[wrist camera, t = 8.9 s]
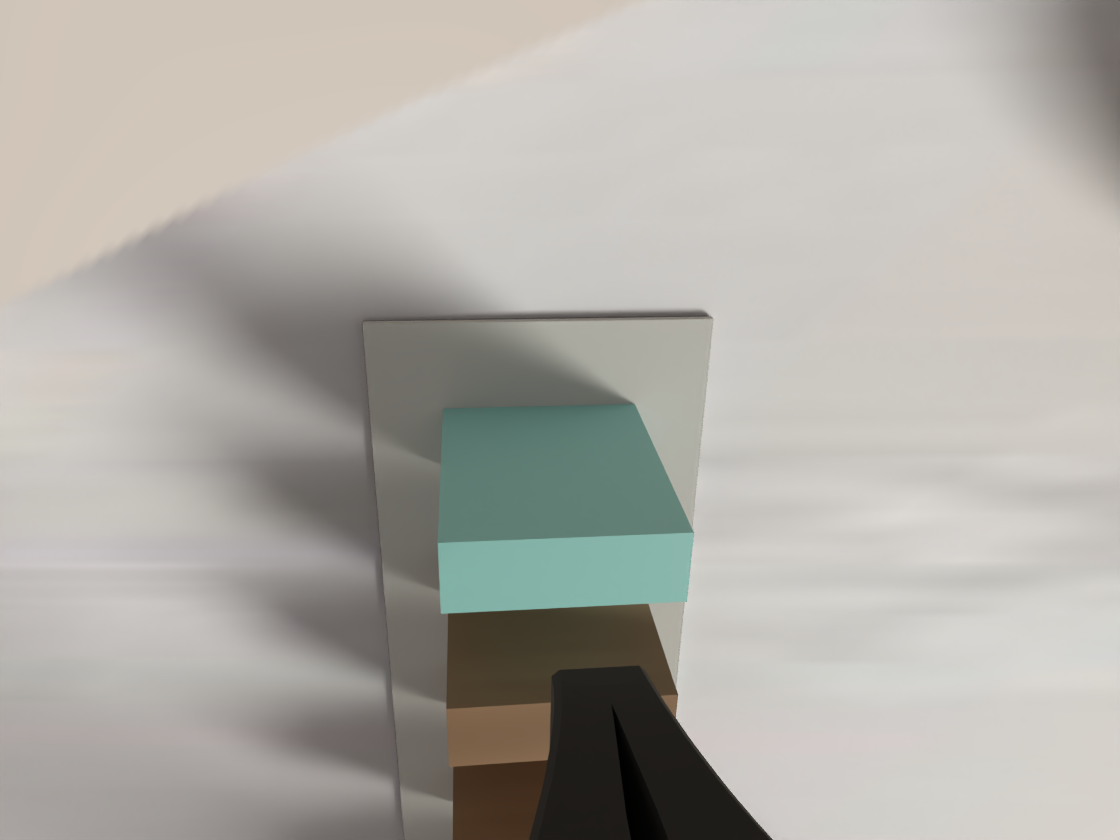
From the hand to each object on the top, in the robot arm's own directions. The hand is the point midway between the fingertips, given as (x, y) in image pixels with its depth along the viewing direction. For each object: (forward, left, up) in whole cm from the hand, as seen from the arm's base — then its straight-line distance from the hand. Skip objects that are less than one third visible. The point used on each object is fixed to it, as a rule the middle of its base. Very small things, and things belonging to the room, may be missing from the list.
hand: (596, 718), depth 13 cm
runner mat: (-8, 0, -10) cm, 13 cm away
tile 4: (-4, 0, -10) cm, 10 cm away
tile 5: (0, 0, -10) cm, 10 cm away
